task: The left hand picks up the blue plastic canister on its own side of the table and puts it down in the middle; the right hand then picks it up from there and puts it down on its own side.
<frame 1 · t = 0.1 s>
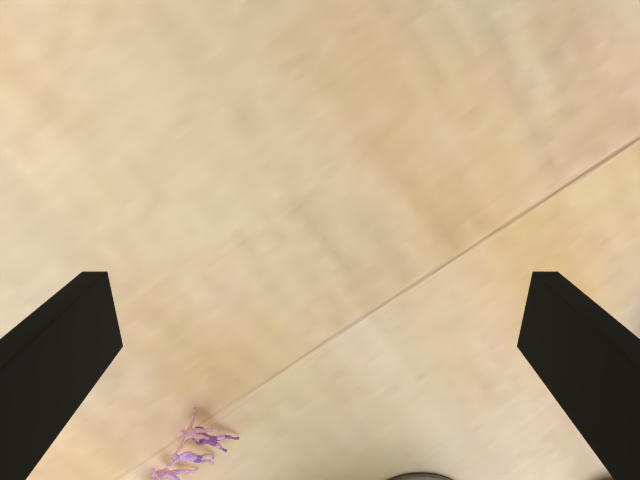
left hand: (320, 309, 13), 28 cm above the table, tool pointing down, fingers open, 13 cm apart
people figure: (189, 445, 53), on the table
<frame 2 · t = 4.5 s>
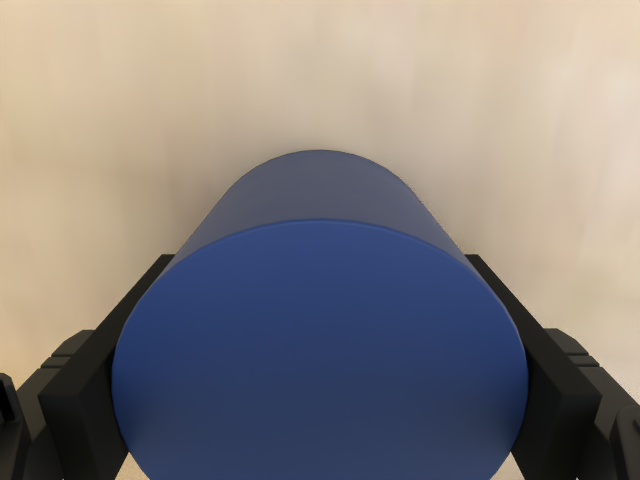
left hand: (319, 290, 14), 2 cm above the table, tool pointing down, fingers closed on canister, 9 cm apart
canister: (319, 267, 16), on the table, touching left hand
when the left hand's fingers open (4 cm above the table, at t = 9.1 s): canister drops 2 cm, on the table.
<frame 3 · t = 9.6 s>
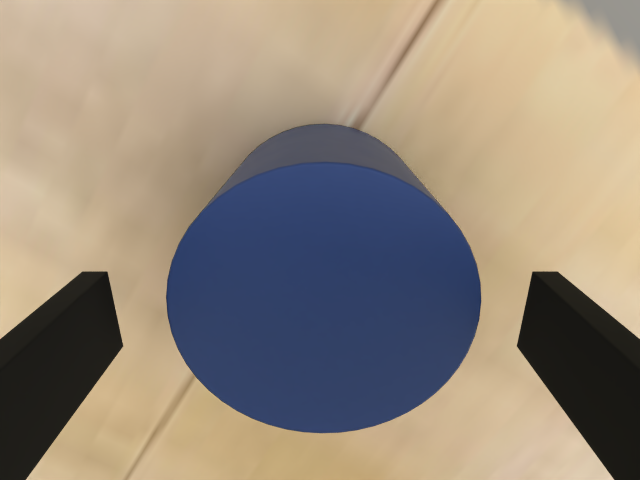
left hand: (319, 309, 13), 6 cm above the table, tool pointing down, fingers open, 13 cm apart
canister: (322, 225, 19), on the table
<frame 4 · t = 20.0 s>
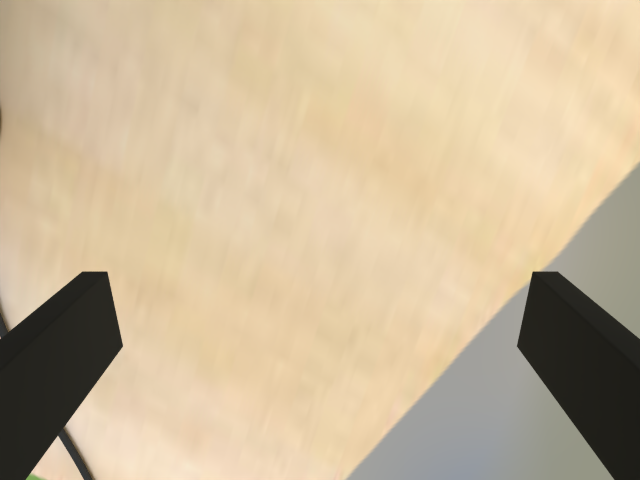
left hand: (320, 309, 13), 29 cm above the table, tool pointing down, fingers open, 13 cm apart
when the right hand's fingers open (4 cm above the table, at t = 30.7 s): canister drops 2 cm, on the table.
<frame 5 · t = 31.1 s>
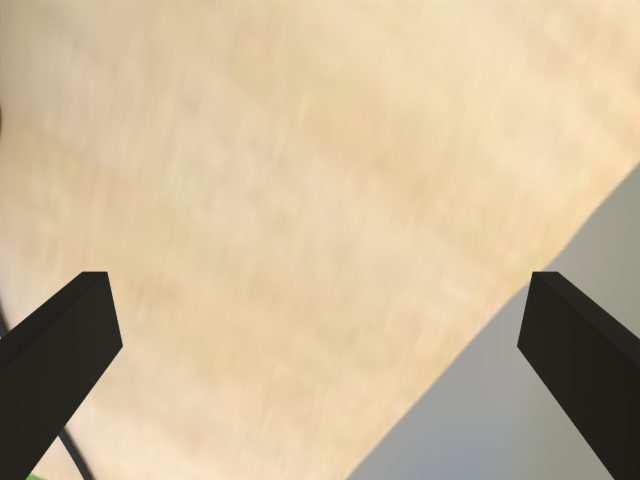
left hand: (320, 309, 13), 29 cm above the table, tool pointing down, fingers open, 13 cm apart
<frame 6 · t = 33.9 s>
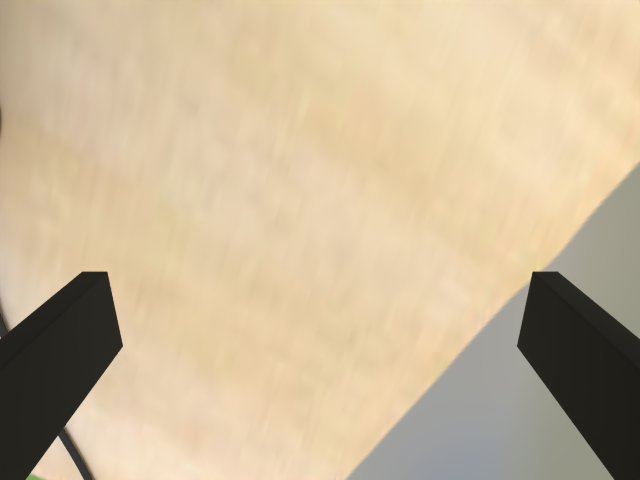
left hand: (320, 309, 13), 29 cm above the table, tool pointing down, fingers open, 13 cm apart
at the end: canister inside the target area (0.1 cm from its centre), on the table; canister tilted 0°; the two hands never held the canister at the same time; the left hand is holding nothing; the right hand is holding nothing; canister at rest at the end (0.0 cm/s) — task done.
